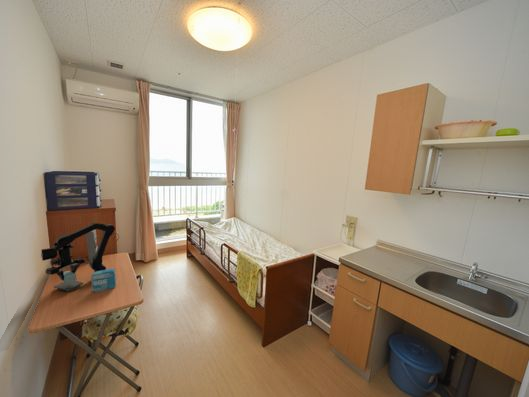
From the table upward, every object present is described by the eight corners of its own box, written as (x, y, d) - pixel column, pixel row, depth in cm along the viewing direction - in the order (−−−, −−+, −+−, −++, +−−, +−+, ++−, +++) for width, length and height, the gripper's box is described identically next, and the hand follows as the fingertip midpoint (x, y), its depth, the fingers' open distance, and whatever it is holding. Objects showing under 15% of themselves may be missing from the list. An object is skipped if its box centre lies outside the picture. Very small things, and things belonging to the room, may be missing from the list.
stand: (83, 286, 145) (82, 282, 144) (67, 293, 136) (67, 289, 136) (70, 282, 149) (69, 279, 148) (54, 289, 140) (53, 286, 140)
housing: (69, 276, 146) (68, 270, 146) (76, 279, 142) (75, 273, 141) (59, 279, 142) (59, 273, 141) (66, 283, 137) (66, 277, 137)
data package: (92, 292, 137) (90, 275, 135) (94, 289, 141) (92, 272, 139) (115, 287, 143) (114, 270, 141) (116, 284, 147) (114, 267, 145)
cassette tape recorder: (97, 259, 187) (94, 231, 183) (88, 260, 184) (85, 232, 180) (99, 253, 199) (96, 227, 195) (90, 255, 195) (87, 228, 192)
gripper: (72, 248, 151) (75, 269, 153) (38, 259, 133) (42, 283, 135) (84, 250, 147) (86, 272, 149) (49, 262, 130) (53, 286, 132)
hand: (67, 277), depth 142 cm, fingers closed on housing, 5 cm apart
